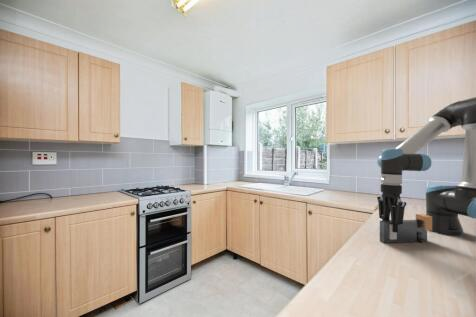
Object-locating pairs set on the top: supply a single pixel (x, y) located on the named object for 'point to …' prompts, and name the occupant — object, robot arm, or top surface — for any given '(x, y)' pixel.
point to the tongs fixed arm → (420, 230)
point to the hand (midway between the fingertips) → (389, 237)
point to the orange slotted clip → (425, 221)
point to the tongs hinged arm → (400, 232)
